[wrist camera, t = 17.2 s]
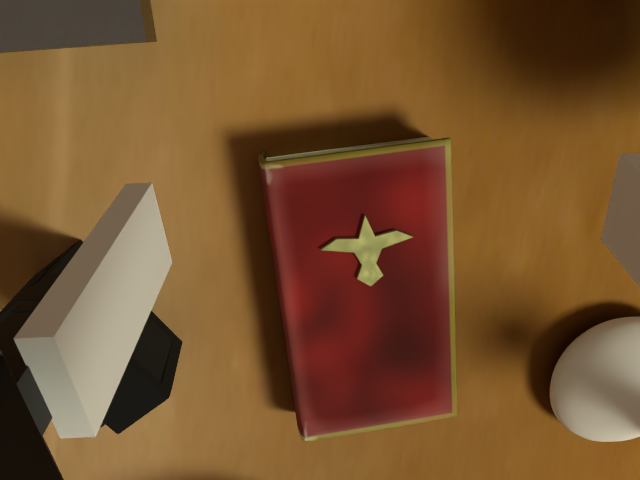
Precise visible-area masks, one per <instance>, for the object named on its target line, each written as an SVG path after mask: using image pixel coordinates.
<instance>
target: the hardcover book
mask: <svg viewBox="0 0 640 480" xmlns="http://www.w3.org/2000/svg"><path fill="white" fill-rule="evenodd" d="M258 163H259V169H260V176H261V183H262V190H263V196H264V203H265V210H266V216H267V223H268V230H269V237H270V243H271V250H272V257H273V264H274V270H275V277H276V284H277V291H278V297H279V304H280V311H281V318H282V324H283V331H284V338H285V344H286V351H287V358H288V365H289V371H290V378H291V385H292V392H293V398H294V405H295V412H296V419H297V425H298V430H299V433H300V436H301V438H302V439H303V440H304V441H305V442H307V441H313V440H319V439H325V438H331V437H337V436H343V435H349V434H355V433H361V432H367V431H373V430H379V429H385V428H391V427H397V426H403V425H409V424H415V423H421V422H427V421H432V420H438V419H444V418H450V417H456V416H457V377H456V334H455V291H454V249H453V206H452V163H451V139H450V138H443V139H435V140H434V139H432V138H430V137H421V138H414V139H406V140H398V141H390V142H383V143H375V144H367V145H360V146H352V147H344V148H337V149H329V150H321V151H313V152H306V153H298V154H290V155H283V156H275V157H267V154H266V152H260V153H259V155H258Z"/></svg>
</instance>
